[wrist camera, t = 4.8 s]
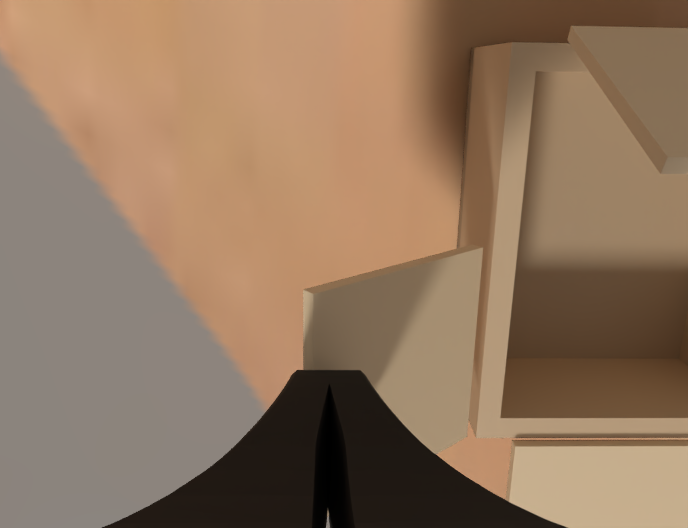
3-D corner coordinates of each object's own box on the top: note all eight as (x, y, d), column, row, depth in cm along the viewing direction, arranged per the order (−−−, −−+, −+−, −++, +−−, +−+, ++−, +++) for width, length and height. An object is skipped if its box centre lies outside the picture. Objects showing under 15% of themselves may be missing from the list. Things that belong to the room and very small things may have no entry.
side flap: (313, 294, 11) (303, 289, 11) (313, 524, 13) (303, 517, 13) (482, 247, 14) (472, 244, 15) (467, 436, 16) (457, 431, 16)
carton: (773, 498, 22) (872, 592, 18) (438, 500, 22) (463, 597, 18) (889, 55, 18) (1054, 51, 14) (471, 48, 18) (515, 41, 14)
